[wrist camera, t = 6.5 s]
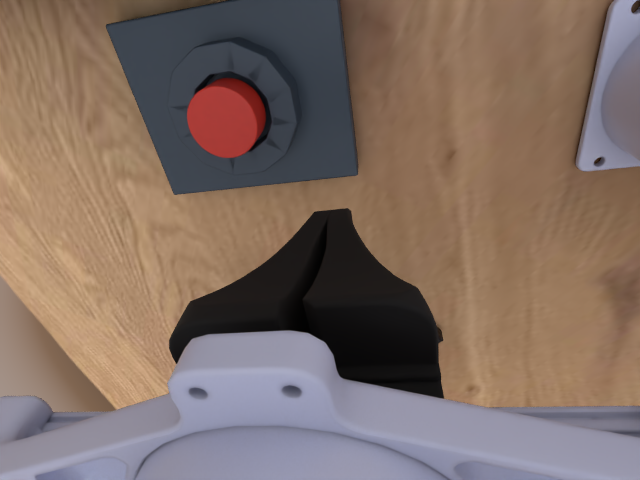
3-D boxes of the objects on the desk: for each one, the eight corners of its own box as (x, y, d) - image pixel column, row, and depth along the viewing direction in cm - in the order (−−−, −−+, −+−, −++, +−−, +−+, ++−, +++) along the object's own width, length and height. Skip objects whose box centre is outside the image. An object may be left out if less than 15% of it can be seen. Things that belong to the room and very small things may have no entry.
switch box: (337, -21, 17) (332, -22, 15) (358, 166, 22) (357, 189, 20) (119, 22, 19) (83, 28, 17) (182, 185, 24) (161, 208, 21)
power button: (257, 72, 17) (246, 80, 16) (272, 141, 19) (265, 154, 17) (191, 83, 18) (175, 91, 16) (212, 148, 19) (200, 161, 18)
